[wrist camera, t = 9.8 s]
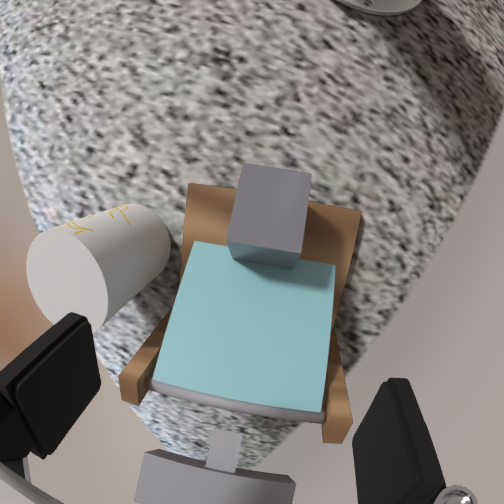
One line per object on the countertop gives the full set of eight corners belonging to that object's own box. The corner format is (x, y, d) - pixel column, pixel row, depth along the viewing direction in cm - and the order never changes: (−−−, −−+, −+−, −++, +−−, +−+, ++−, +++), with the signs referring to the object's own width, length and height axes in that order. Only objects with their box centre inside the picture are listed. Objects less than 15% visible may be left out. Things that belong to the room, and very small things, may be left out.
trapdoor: (195, 258, 29) (189, 233, 25) (330, 282, 28) (342, 259, 25) (134, 486, 18) (116, 494, 14) (294, 519, 17) (303, 534, 13)
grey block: (232, 258, 25) (246, 192, 27) (293, 269, 25) (303, 201, 27) (225, 240, 21) (243, 163, 22) (301, 253, 20) (311, 174, 22)
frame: (189, 182, 28) (112, 200, 15) (361, 211, 27) (418, 252, 14) (177, 332, 33) (124, 415, 20) (323, 359, 32) (333, 457, 19)
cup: (149, 190, 29) (73, 209, 17) (184, 265, 30) (128, 322, 19) (91, 223, 30) (13, 253, 19) (123, 290, 32) (59, 344, 21)
